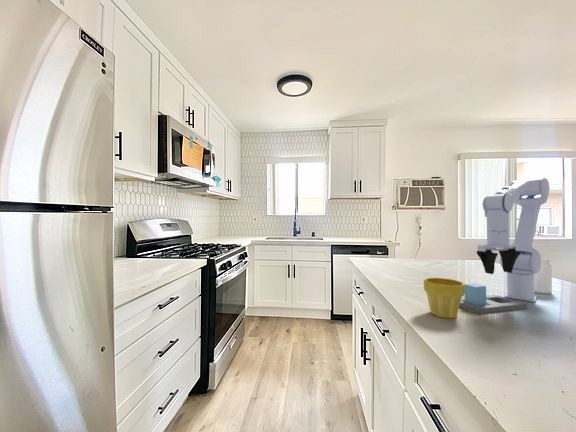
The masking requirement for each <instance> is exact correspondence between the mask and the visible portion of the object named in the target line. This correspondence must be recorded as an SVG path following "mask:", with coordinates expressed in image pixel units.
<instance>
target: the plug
mask: <svg viewBox="0 0 576 432" xmlns="http://www.w3.org/2000/svg"><path fill="white" fill-rule="evenodd" d="M464 285H465V292H464V298H465V302H466V303H469V304H472V305H475V306H481V305H486V296H487V286H486V285H481V284H478V283H464Z"/></svg>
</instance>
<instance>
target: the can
mask: <svg viewBox="0 0 576 432" xmlns="http://www.w3.org/2000/svg"><path fill="white" fill-rule="evenodd" d="M540 261H541V267H540V270H539V272H537V273H536V274H534V294H535V293H537V294H543V295H545V294H546V295H550V294H552V292H553V281H552V280H553V279H552V278H553V277H552V274H553V273H552V272H553V271H552V269H553V268H552V264H551V261H550V260H547V259H541V260H540Z"/></svg>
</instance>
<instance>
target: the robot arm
mask: <svg viewBox="0 0 576 432" xmlns="http://www.w3.org/2000/svg"><path fill="white" fill-rule="evenodd" d="M549 193H550V182H549V180H548V179H547V178H546V177H543V176H542V177H541V178H530V179H520V180H512V181H511V182H510V184H509V185H506V186H502V188H501V189H500V190H498V191H496V192H495V193H494V194H489V195H487V196H485V197H484V198H483V200H482V208H483V209H482V210H483V212H484V217H485V218H486V244H485V243H484V244H477V250H476V254H477V255H478V257H479V259H480V261H481V262H482V265H483V270H484V271H485V274H490V275H494V272H495V264H496V260H497V256H498V255H499V256H500V257H499V263H500V266H501V268H502V270H503V272H504V273H506V289H507V291H506V293H505V295H504V296H503V297H505V298H508V299H512V300H520V301H525V302H526V301H527V302H530V303H531V302H532V303H533V302H534V303H536V300H537V296H538V295H537V294H535V292H534V274H536V273H537V272H539V270H540V267H541V261H540V260H542V259H541V258H542V255H541V254H540V252H539V250H538V249H536V248H534V247H533V242H534V237H535V233H536V227H537V222H538V218H539V214H540V213H539V212H540V210H541V206H542V205H544V204H546V203H547V202H548V199H549ZM514 205H517V206H521V209H520V214H519V219H518V224H517V227H516V233H515V237H514V242H513V243H510V212H511V211H513V207H514ZM495 251H498V253H497V252H495Z"/></svg>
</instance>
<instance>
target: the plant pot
mask: <svg viewBox="0 0 576 432" xmlns="http://www.w3.org/2000/svg"><path fill="white" fill-rule="evenodd" d="M464 284H465V283H464V282H463V281H460V280H457V279H451V278H445V277H426V278H424V279H423V289H424V291H425V292H426V297H427V301H428V305H429V309H430V310H429V311H430V313H431V314H432V315H434V316H435V317H439V318H445V319H455V318H457V317H458V313H459V309H460V307H459V305H460V301H461V298H463V297H465V294H464V292H465V285H464Z"/></svg>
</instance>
